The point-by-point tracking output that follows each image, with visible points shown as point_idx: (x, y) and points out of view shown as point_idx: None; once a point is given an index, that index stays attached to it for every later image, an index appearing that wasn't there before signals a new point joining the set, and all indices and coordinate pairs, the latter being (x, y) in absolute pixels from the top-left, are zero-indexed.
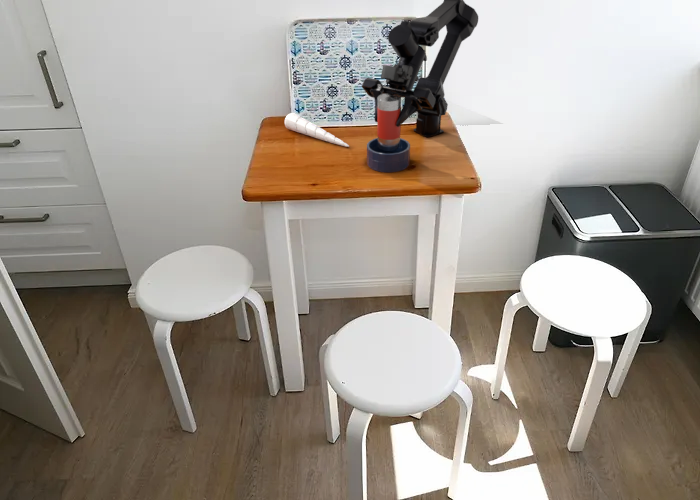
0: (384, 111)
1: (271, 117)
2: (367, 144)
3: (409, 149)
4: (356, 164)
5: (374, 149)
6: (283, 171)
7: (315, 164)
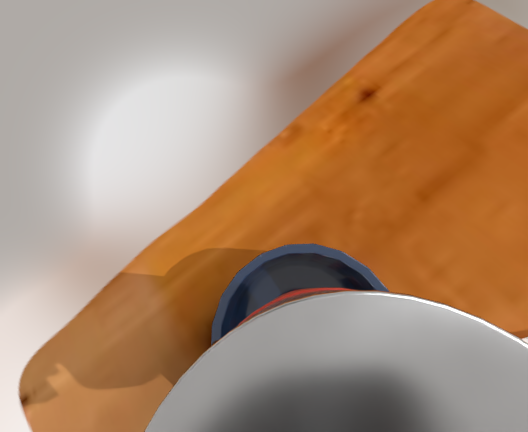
0: (297, 293)
1: None
2: (384, 288)
3: None
4: (375, 250)
5: None
6: (495, 90)
7: (471, 171)
